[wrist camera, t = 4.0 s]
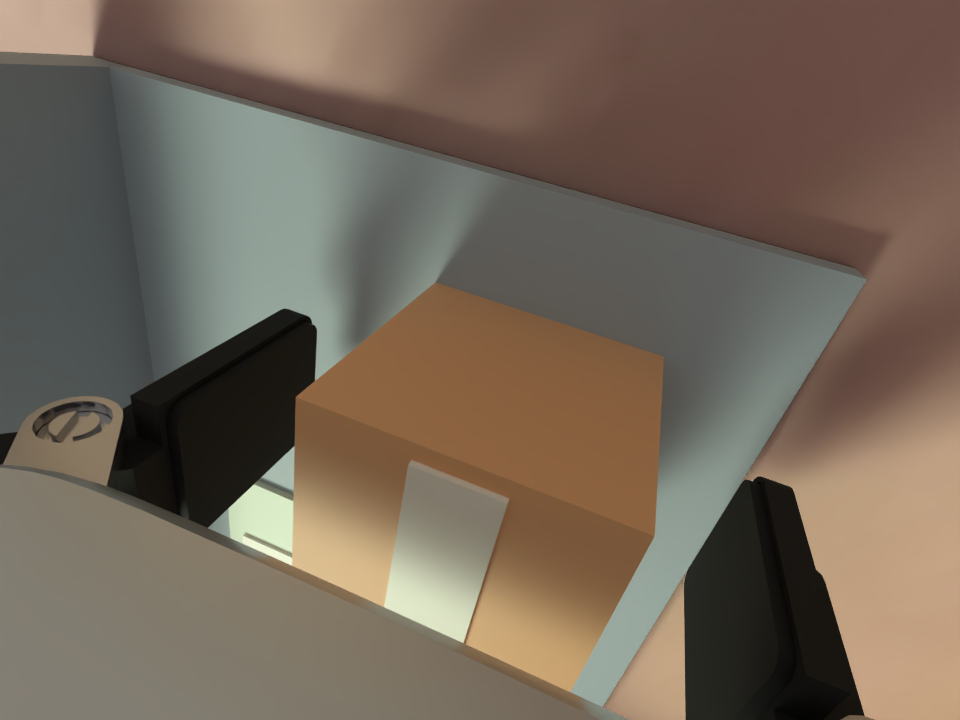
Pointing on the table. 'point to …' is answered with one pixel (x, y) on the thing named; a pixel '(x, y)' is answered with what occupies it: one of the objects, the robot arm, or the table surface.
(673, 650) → the table surface
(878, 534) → the table surface
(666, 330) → the grey blue tray
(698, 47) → the table surface
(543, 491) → the cube
